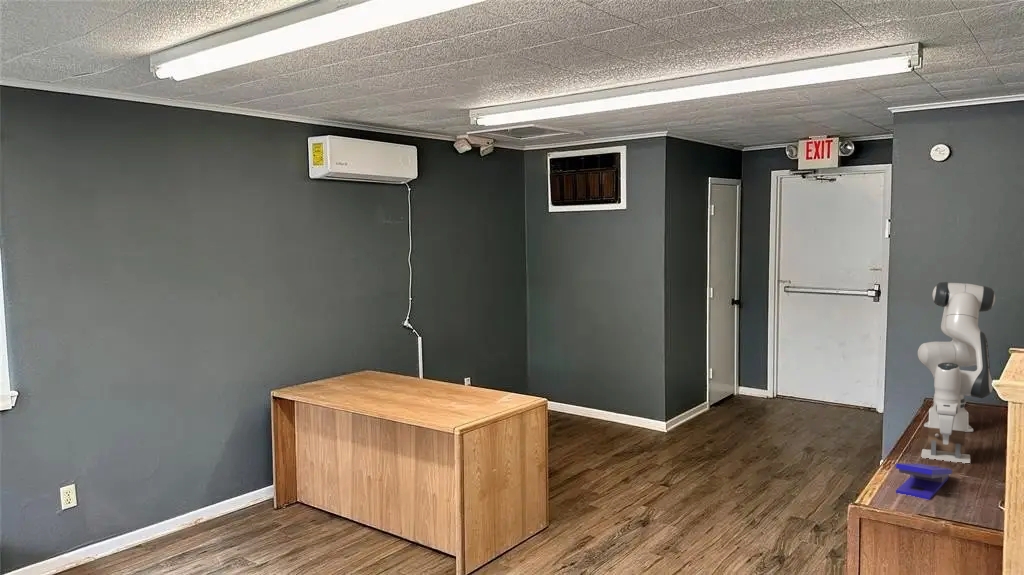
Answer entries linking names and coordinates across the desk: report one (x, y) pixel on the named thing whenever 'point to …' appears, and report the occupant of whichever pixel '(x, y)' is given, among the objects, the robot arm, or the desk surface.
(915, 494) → the blue stacked plate part
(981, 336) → the robot arm
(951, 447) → the door panel
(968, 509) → the desk surface
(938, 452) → the white and grey rack
